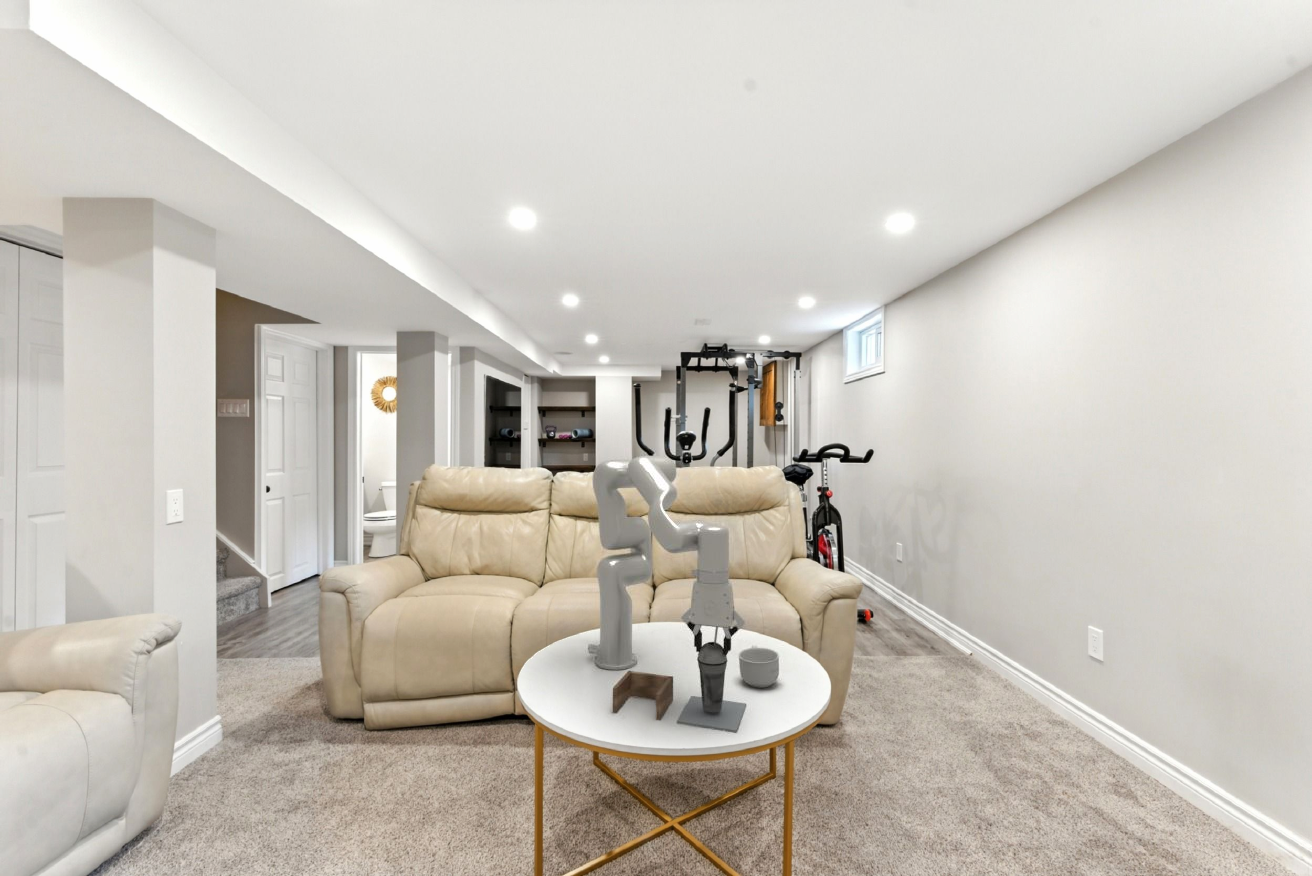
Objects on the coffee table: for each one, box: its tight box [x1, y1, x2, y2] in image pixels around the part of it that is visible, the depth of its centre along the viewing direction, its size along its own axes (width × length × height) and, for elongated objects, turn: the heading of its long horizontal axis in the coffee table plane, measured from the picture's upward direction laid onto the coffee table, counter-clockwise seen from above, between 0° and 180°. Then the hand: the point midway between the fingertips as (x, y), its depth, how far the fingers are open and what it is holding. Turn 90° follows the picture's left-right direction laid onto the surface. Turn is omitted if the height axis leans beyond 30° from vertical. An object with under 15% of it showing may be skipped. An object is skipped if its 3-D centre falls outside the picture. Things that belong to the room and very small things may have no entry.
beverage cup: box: [696, 627, 728, 712], centre depth 137 cm, size 7×7×20 cm
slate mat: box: [676, 695, 747, 733], centre depth 136 cm, size 14×14×1 cm
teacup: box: [738, 645, 780, 689], centre depth 156 cm, size 14×11×8 cm
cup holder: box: [612, 670, 674, 721], centre depth 140 cm, size 12×11×6 cm
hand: (712, 650), depth 137 cm, fingers closed on beverage cup, 6 cm apart
